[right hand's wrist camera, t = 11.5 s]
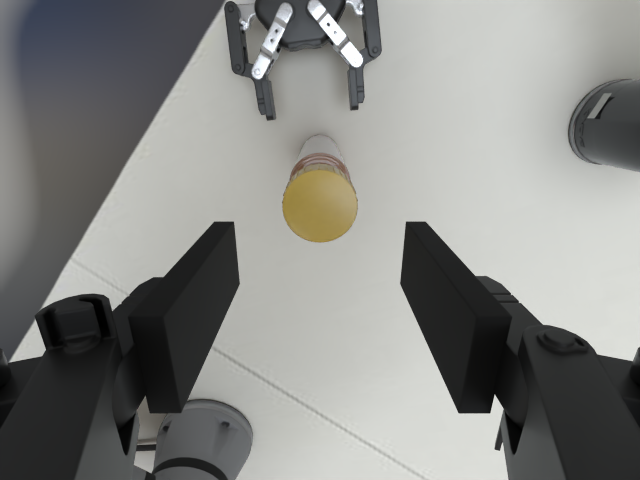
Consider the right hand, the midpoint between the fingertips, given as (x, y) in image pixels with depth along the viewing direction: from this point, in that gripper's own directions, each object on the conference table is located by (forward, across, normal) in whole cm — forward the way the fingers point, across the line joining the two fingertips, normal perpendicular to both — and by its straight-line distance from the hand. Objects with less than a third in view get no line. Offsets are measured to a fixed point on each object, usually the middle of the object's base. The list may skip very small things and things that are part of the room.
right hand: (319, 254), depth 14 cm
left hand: (+25, -1, +5) cm, 26 cm away
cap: (+7, 0, 0) cm, 7 cm away
